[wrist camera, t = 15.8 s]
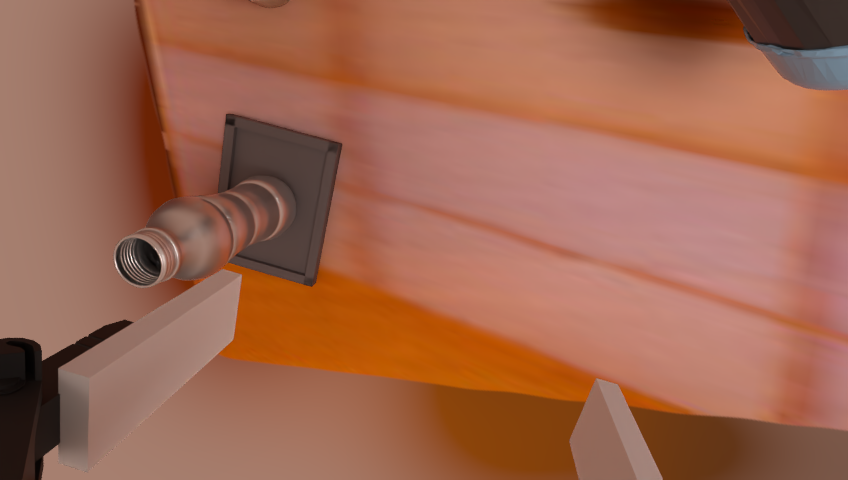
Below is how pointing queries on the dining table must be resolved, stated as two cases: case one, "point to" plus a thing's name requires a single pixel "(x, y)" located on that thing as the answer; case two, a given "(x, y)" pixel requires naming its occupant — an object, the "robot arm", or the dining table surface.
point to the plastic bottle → (204, 232)
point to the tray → (302, 172)
